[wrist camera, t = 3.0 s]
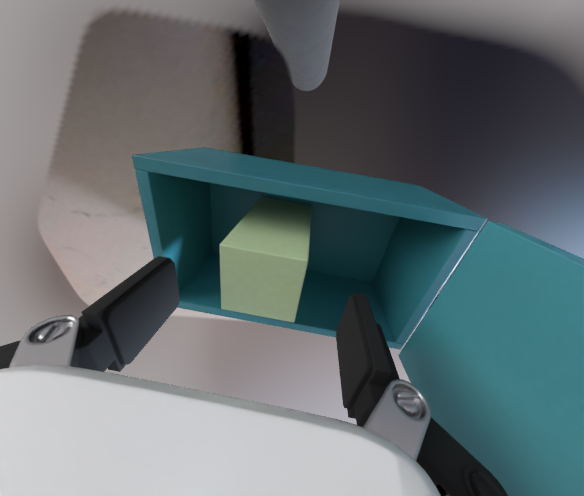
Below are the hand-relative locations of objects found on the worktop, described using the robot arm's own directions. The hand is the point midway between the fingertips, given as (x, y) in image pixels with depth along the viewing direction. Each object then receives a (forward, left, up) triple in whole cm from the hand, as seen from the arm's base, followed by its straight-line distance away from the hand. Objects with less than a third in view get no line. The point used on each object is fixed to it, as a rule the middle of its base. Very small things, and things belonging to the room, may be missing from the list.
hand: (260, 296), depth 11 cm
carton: (0, 0, -9) cm, 9 cm away
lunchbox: (0, +1, -10) cm, 10 cm away
